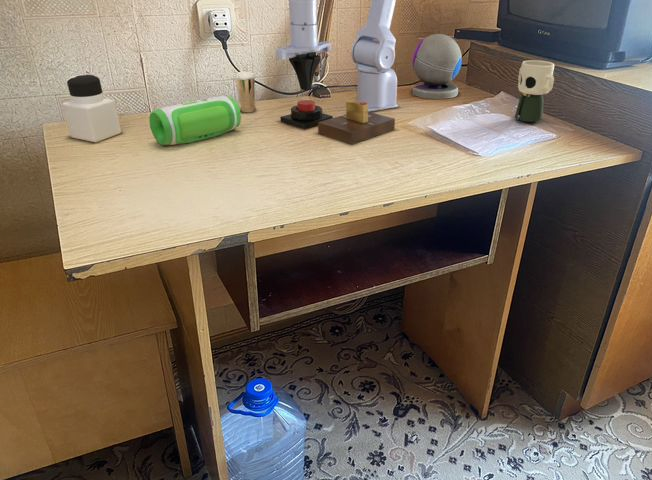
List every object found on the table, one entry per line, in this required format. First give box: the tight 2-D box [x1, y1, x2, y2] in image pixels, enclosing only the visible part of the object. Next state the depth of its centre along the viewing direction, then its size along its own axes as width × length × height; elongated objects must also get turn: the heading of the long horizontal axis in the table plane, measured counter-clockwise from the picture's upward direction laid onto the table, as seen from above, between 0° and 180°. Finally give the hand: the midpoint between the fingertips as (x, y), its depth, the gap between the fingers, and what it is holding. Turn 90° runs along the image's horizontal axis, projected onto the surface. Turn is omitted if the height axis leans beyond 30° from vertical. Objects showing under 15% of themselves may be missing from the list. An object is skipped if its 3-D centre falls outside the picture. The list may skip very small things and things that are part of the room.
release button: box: [296, 99, 316, 111], centre depth 124 cm, size 4×4×2 cm
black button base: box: [280, 104, 334, 130], centre depth 125 cm, size 9×8×3 cm
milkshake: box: [234, 64, 256, 113], centre depth 130 cm, size 4×5×10 cm
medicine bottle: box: [61, 74, 122, 143], centre depth 112 cm, size 7×7×12 cm
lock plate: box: [317, 111, 396, 145], centre depth 119 cm, size 14×10×3 cm
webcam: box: [412, 33, 463, 100], centre depth 146 cm, size 13×13×15 cm
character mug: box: [514, 59, 555, 123], centre depth 126 cm, size 11×7×13 cm, turn 26°
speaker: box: [149, 95, 242, 146], centre depth 113 cm, size 18×7×8 cm, turn 135°
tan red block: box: [345, 99, 368, 123], centre depth 118 cm, size 5×2×4 cm, turn 47°
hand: (305, 89), depth 122 cm, fingers closed
